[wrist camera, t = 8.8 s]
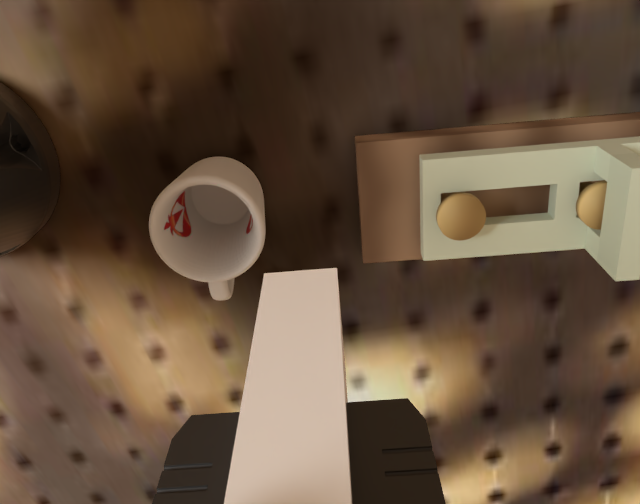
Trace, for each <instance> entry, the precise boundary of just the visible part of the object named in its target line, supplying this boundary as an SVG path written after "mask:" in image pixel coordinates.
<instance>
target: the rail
mask: <svg viewBox="0 0 640 504" xmlns="http://www.w3.org/2000/svg"><path fill="white" fill-rule="evenodd" d="M638 136H640V112H634V113H622V114H610V115H598V116H587V117H575V118H563V119H551V120H539V121H527V122H516V123H504V124H492V125H480V126H468V127H456V128H445V129H433V130H421V131H409V132H397V133H385V134H373V135H362V136H355V148H356V165H357V181H358V198H359V214H360V230H361V247H362V257H363V264H364V263H377V262H390V261H403V260H416V259H423V258H422V255H421V237H420V160H419V155H421V154H433V153H445V152H457V151H469V150H481V149H493V148H505V147H517V146H529V145H541V144H553V143H565V142H578V141H590V140H602V139H614V138H626V137H638ZM606 188H607V181H605V180H600V181H587V182H580V187H579V196H578V199H577V202H576V212H577V215H578V217H579V218H580V219H581V221H583V222H584V223H585V224H586V225H587V226H588V227H590V228H593V229H598V230H601V226H602V218H603V211H604V203H605V195H606ZM549 193H550V185H538V186H525V187H513V188H501V189H488V190H476V191H463V192H451V193H441V203H440V205H439V207H438V209H437V212H436V220H437V224H438V226H439V228H440V230H441V232H442V233H443V234H444V235H445V236H446V237H448V238H450V239H452V240H458V241H460V240H467V239H470V238H472V237H474V236H475V235H477V234H478V233H479V232H480V231H481V229H482V228H483V226H484V224H485V221H486V217H498V216H511V215H524V214H536V213H548V204H549Z"/></svg>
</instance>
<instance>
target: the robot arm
mask: <svg viewBox="0 0 640 504" xmlns="http://www.w3.org/2000/svg"><path fill="white" fill-rule="evenodd" d="M59 190H60V168H59V162H58V158H57V154H56V151H55V148H54V145H53V143H52V140H51V138H50V136H49V134H48V132H47V131H46V129H45V127H44V125H43V124H42V122H41V121H40V119H39V118H38V117H37V115H36V114H35V113H34V112H33V110H32V109H31V108H30V107H29V106H28V105H27V104H26V103H25V102H24V101H23V100H22V99H21V98H20V97H19V96H18V95H17V94H16V93H14V92H13V91H12V90H11V89H9V88H8V87H6V86H5V85H4V84H2V83H1V82H0V256H3V255H6V254H8V253H10V252H12V251H14V250H16V249H17V248H19V247H21V246H22V245H24V244H25V243H26V242H27V241H29V240H30V239H31V238H32V237H33V236H34V235H35V234H36V233H37V232H38V231H39V230H40V229H41V228H42V227H43V226H44V225H45V224H46V222H47V221H48V220H49V218H50V216H51V215H52V213H53V211H54V209H55V206H56V203H57V200H58V196H59ZM152 504H445V500H444V495H443V491H442V487H441V483H440V478H439V474H438V472H437V466H436V461H435V457H434V453H433V451H432V444H431V440H430V436H429V432H428V427H427V423H426V420H425V418H424V417H423V416H422V415H421V414H420V412H419V411H418V410H417V409H416V408H415V407H414V405H413V404H412V403H411V402H410V401H409V400H408V398H407V399H392V400H378V401H363V402H349V403H348V401H347V386H346V372H345V359H344V347H343V335H342V323H341V310H340V298H339V286H338V274H337V268H327V269H314V270H301V271H288V272H275V273H264V277H263V283H262V289H261V295H260V300H259V306H258V312H257V317H256V323H255V329H254V334H253V340H252V346H251V352H250V357H249V363H248V369H247V374H246V380H245V386H244V391H243V397H242V403H241V409H240V412H233V413H218V414H204V415H192V416H191V417H190V418H189V419H188V420H187V422H186V423H185V424H184V425H183V426H182V428H181V429H180V430H179V431H178V432H177V434H176V435H175V436H174V437H173V439H172V441H171V444H170V448H169V451H168V454H167V457H166V461H165V464H164V471H162V473H161V477H160V480H159V483H158V486H157V494H155V496H154V499H153V503H152Z"/></svg>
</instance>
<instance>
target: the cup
mask: <svg viewBox="0 0 640 504" xmlns="http://www.w3.org/2000/svg"><path fill="white" fill-rule="evenodd" d="M149 234H150V238H151V241H152V244H153V246H154V248H155V250H156V252H157V253H158V255H159V256H160V258H161V259H162V260H163V261H164V262H165V263H166V264H167V265H168V266H169V267H170V268H171V269H173V270H174V271H175V272H177V273H179V274H181V275H182V276H185V277H187V278H189V279H193V280H196V281H201V282H208V285H209V290H210V294H211V296H212V298H213V299H215V300H220V301H222V300H228V299H230V298H231V296H232V293H233V288H234V278H235V277H237V276H239V275H241V274H242V273H244V272H245V271H247V270H248V269H249V268H250V267H251V266H252V265H253V264H254V263H255V262H256V260H257V259H258V257H259V255H260V253H261V251H262V249H263V246H264V242H265V234H266V229H265V209H264V196H263V191H262V188H261V185H260V182H259V181H258V179H257V177H256V176H255V174H254V173H253V172H252V171H251V170H250V169H249V168H248V167H247V166H246V165H244V164H243V163H241V162H239V161H237V160H234V159H232V158H227V157H209V158H205V159H203V160H200V161H198V162H196V163H194V164H193V165H192V166H190V167H189V168H188V169H186V170H185V171H184V172H183V173H182V174H181V175H180V176H178V177H177V178H176V179H175V180H174V181H173V182H172V183H170V184H169V185H168V186H167V187H166V188H165V189H164V190H163V191H162V192H161V193H160V194H159V196H158V197H157V198H156V200H155V202H154V204H153V206H152V209H151V212H150V216H149Z"/></svg>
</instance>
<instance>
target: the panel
mask: <svg viewBox="0 0 640 504" xmlns="http://www.w3.org/2000/svg"><path fill="white" fill-rule="evenodd" d="M419 160H420V237H421V255H422V258H423V261H430V260H443V259H456V258H469V257H482V256H495V255H508V254H521V253H534V252H547V251H560V250H573V249H586V251H587V252H588V253H589V254H590V255H591V256H592V257H593V258H594V259H595V260H596V261H597V262H598V263H599V264H600V265H601V267H602V268H603V269H604V270H605V271H606V272H607V273H608V274H609V275H610V276H611V277H612V278H613V279H614V280H615V281H627V280H639V278H640V136H638V137H626V138H614V139H602V140H590V141H578V142H565V143H553V144H541V145H529V146H517V147H505V148H493V149H481V150H469V151H457V152H445V153H433V154H421V155H419ZM600 180H605V181H607V188H606V195H605V203H604V211H603V218H602V226H601V230H598V229H593V228H590V227H588V226H587V225H586V224H585V223H584V222H583V221H581V219H580V218H579V217H578V215H577V212H576V202H577V199H578V196H579V187H580V182H587V181H600ZM538 185H550V193H549V204H548V213H536V214H524V215H511V216H498V217H486V221H485V224H484V226H483V228H482V229H481V231H480V232H479V233H478V234H477V235H475V236H474V237H472V238H470V239H467V240H460V241H458V240H452V239H450V238H448V237H446V236H445V235H444V234H443V233H442V232H441V230H440V228H439V226H438V224H437V220H436V212H437V209H438V207H439V205H440V203H441V193H451V192H463V191H476V190H488V189H501V188H513V187H525V186H538Z"/></svg>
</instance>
